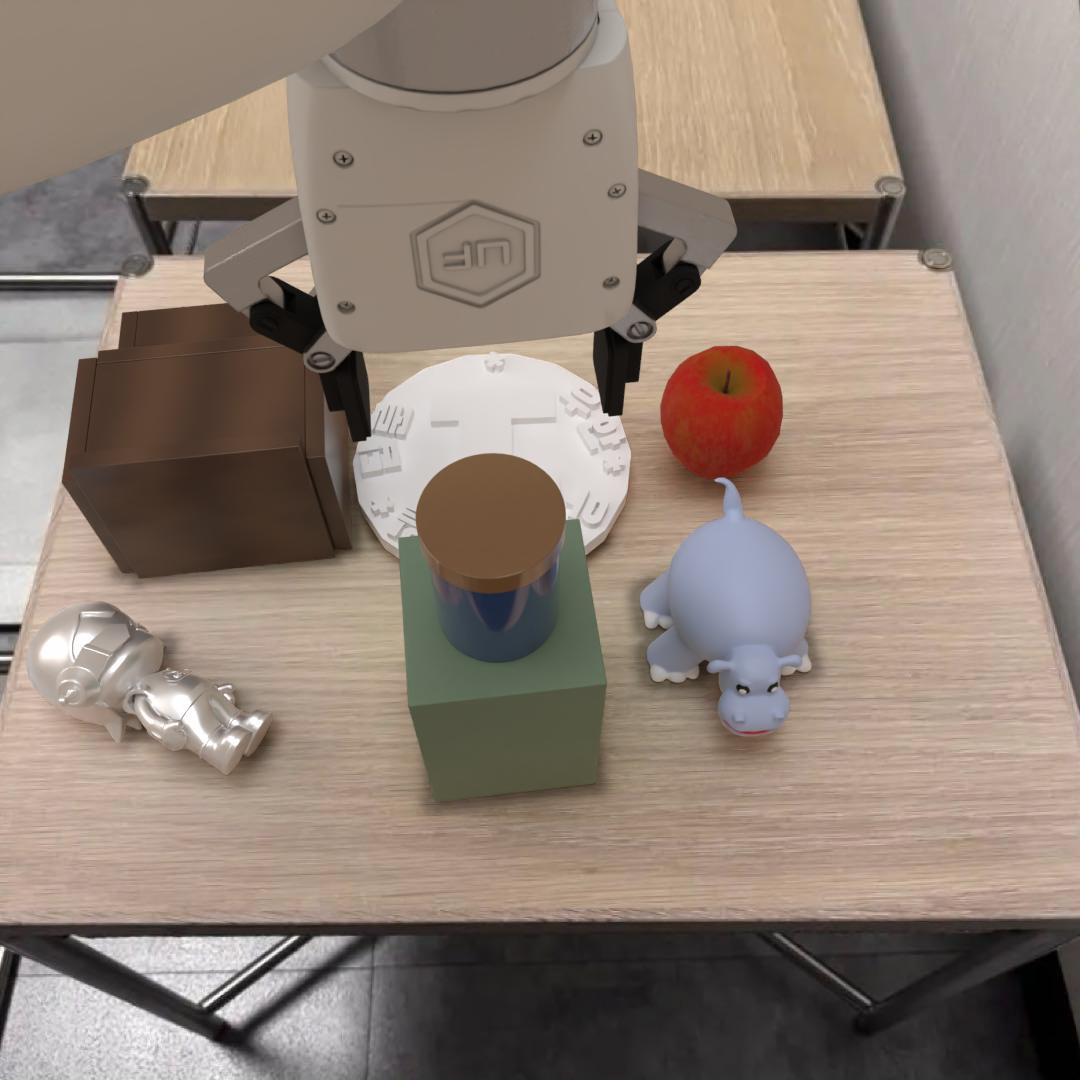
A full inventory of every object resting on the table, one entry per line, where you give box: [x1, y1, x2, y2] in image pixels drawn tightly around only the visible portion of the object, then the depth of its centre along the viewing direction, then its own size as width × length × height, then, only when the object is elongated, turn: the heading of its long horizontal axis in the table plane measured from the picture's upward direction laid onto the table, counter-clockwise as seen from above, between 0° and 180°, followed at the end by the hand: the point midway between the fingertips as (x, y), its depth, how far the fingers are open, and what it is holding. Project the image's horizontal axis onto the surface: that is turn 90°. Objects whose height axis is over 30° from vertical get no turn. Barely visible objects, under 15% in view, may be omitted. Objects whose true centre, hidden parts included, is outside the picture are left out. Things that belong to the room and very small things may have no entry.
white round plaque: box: [352, 351, 632, 559], centre depth 78 cm, size 20×20×3 cm
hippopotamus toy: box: [639, 478, 812, 737], centre depth 67 cm, size 11×15×10 cm
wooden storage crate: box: [61, 302, 353, 579], centre depth 75 cm, size 16×21×13 cm
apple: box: [659, 345, 784, 481], centre depth 75 cm, size 9×8×11 cm
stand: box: [398, 519, 608, 803], centre depth 62 cm, size 10×10×15 cm
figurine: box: [26, 600, 274, 776], centre depth 66 cm, size 11×7×15 cm
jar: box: [416, 453, 566, 663], centre depth 52 cm, size 7×7×9 cm
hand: (484, 400), depth 42 cm, fingers open, 9 cm apart
